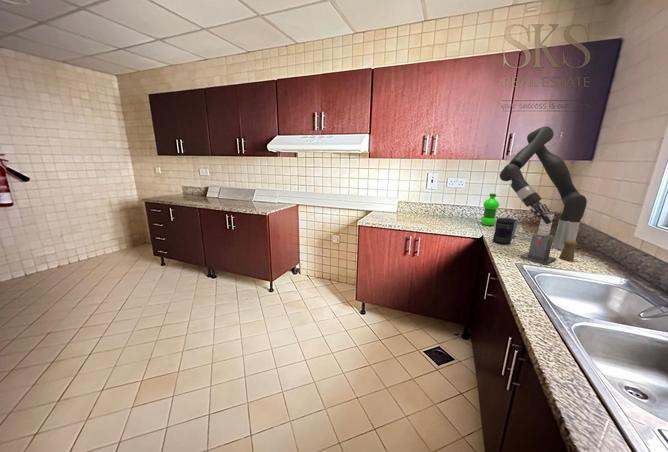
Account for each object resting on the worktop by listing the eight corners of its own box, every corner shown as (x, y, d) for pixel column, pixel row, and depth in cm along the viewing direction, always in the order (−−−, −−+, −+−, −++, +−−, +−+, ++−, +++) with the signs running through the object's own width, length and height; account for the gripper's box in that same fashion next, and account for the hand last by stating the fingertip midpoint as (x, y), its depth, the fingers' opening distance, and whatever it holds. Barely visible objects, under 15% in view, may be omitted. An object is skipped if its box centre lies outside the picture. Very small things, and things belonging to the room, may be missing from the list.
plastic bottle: (495, 227, 202) (501, 195, 195) (480, 225, 207) (485, 194, 200) (495, 224, 210) (500, 193, 204) (480, 222, 215) (485, 192, 209)
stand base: (529, 253, 148) (534, 231, 145) (555, 260, 139) (561, 236, 135) (520, 258, 142) (524, 234, 138) (546, 265, 132) (552, 240, 129)
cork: (558, 256, 145) (563, 237, 142) (573, 259, 141) (578, 239, 138) (559, 259, 140) (563, 240, 137) (573, 262, 137) (579, 242, 134)
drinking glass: (497, 233, 187) (500, 216, 184) (514, 235, 183) (517, 218, 180) (498, 236, 179) (502, 220, 175) (516, 239, 174) (520, 221, 171)
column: (537, 246, 141) (545, 211, 136) (546, 248, 138) (554, 212, 133) (534, 247, 139) (542, 212, 134) (543, 250, 136) (551, 213, 131)
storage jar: (489, 241, 170) (492, 218, 166) (499, 239, 173) (503, 217, 169) (503, 246, 161) (508, 222, 157) (514, 244, 165) (518, 221, 161)
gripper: (527, 199, 146) (549, 224, 140) (515, 201, 139) (537, 228, 132) (541, 190, 141) (564, 216, 134) (529, 192, 133) (553, 220, 127)
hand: (550, 222), depth 133 cm, fingers closed on column, 4 cm apart
